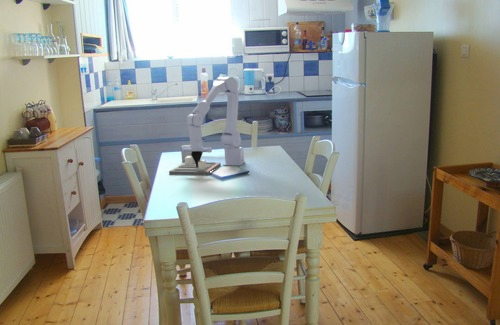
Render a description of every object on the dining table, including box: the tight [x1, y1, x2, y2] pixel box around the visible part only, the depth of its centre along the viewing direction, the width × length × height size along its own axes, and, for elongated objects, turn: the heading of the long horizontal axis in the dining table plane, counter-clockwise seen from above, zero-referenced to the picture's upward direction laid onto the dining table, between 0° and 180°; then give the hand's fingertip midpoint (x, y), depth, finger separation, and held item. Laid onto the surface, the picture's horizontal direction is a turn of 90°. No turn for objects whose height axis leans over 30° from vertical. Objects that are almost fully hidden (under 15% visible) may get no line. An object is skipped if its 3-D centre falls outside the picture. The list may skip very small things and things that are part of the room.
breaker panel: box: [168, 161, 222, 176], centre depth 226 cm, size 20×18×2 cm
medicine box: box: [180, 144, 195, 163], centre depth 244 cm, size 8×4×9 cm, turn 84°
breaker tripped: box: [198, 159, 207, 169], centre depth 220 cm, size 2×4×4 cm, turn 165°
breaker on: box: [185, 156, 193, 164], centre depth 231 cm, size 2×4×4 cm, turn 164°
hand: (198, 166), depth 221 cm, fingers closed
